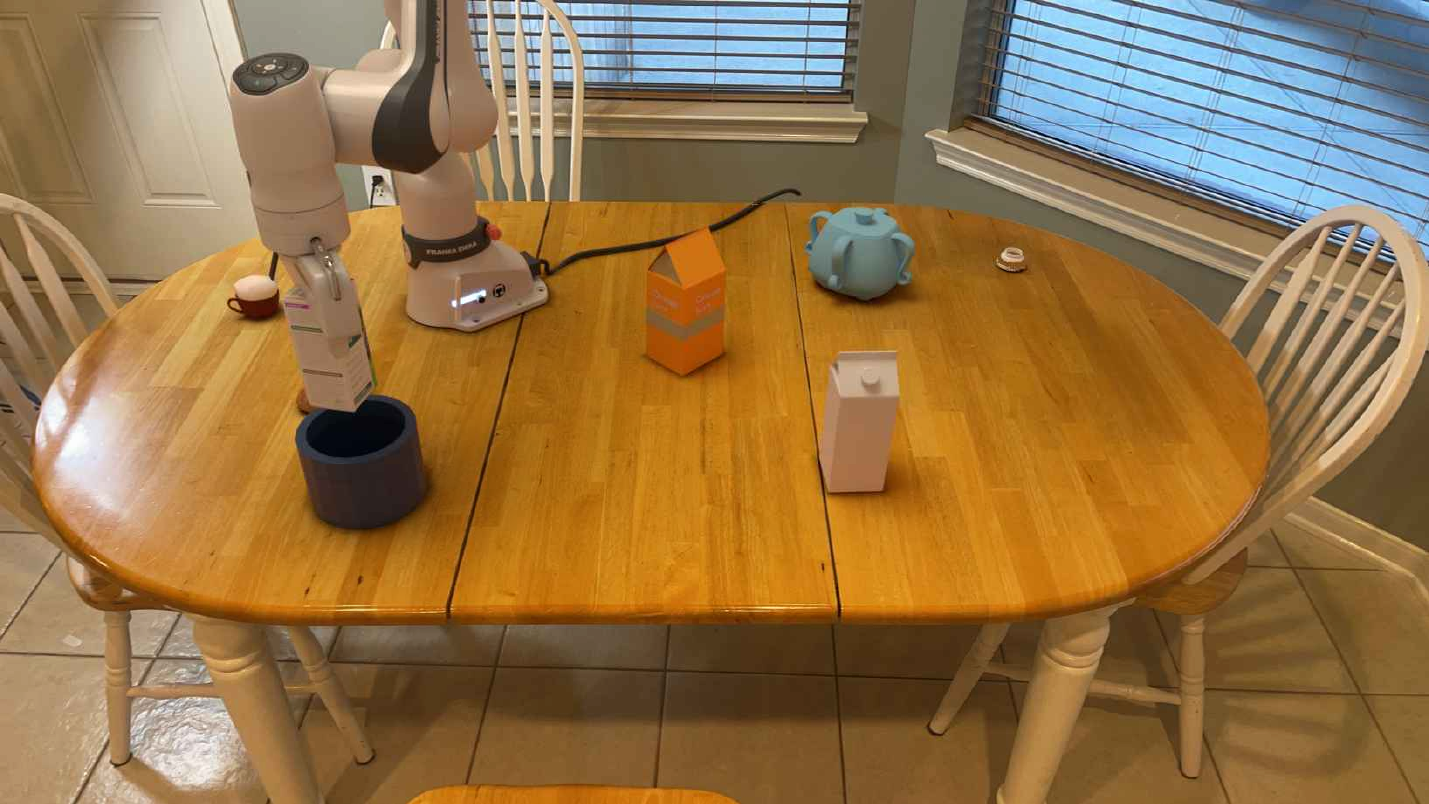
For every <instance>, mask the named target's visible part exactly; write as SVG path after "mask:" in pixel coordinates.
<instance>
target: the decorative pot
mask: <svg viewBox="0 0 1429 804" xmlns="http://www.w3.org/2000/svg"><path fill="white" fill-rule="evenodd" d="M818 219H824V220H825V221H826V223H824V225H823V227H822V229H821V230H820V232H819V230H818ZM808 230H809V234H810V240H808V241H807V242H806V243H805V246H804V251H805V253H806V254H807V255H808V256H809V259H808V269H809V271H810V274H812V276H813V278H814V280H815V281H816V282H817V283H819V284H820V285H821V286H822V287H823V288H825V289H826V290H827V289H828V290H831V291H834V292H836V293H839V294H842V295H846V296H852V297H856V298H857V299H859V300H860V301H869V300H871V299H873V298H879V297H881V296H883V295H885V294H886V293H888V292H889V291H890V290H891V289H892V288H894V287H895V286H896V284H899V285H900V286H909V285H910V284H911V283H912V281H913V278H914V277H913V273H912V272H911V270H908V269H907V268H908V267H909V265H910V263H911V262H912V260H913V258H914V256H915V254H916V245H915V242H914V240H913V239H912V238H911V237H910V236H909V235H908V234H905V233H902V231H901V228H900V226H899V224H898V221H897V220H896V219H894V218H893V217H891V216H890V212H889V211H888V210H887V209H886V208H883V207H875V208H874V209H872V208H870V207H867V206H858V207H844V208H842V209H840V210H839V211H837V212H836V213H834V214H833V213H831V212H830V211H826V210H821V211H817V212H815V213H814V214H812V215H811V216H810V218H809V221H808ZM904 276H905V277H906V278H905V277H904Z"/></svg>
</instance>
